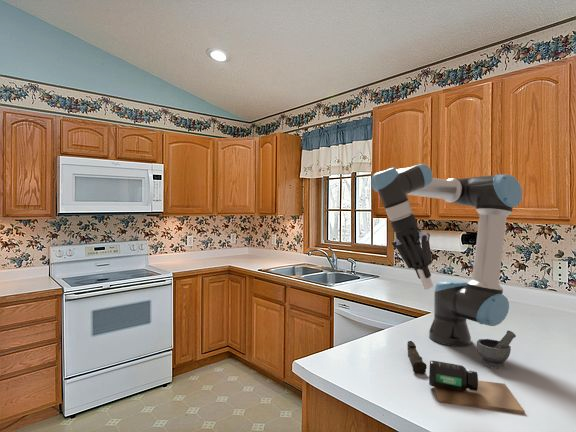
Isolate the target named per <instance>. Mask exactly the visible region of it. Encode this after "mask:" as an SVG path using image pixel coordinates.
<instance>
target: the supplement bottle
mask: <svg viewBox="0 0 576 432" xmlns="http://www.w3.org/2000/svg"><path fill="white" fill-rule="evenodd" d="M428 373H429V376H428V377H429V379H428V385H429V386H430V387H433V388H434V387H438V388H443V389H448V390H453V391H458V392H464V391H465V390H466V389H467V388H468V389H469V390H474V391H477V389H478V380H479V377H478V376H479V375H478V372H477V371H473V370H469V371H468V370H467V368H466V367H465V366H464V365H460V364H455V363H450V362H444V361H436V360H429V372H428Z"/></svg>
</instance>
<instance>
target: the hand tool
mask: <svg viewBox="0 0 576 432" xmlns="http://www.w3.org/2000/svg"><path fill="white" fill-rule="evenodd" d="M406 344H407V345H406V346H407V356H408V358H409V360H410V362H411V365H412V371H413V373H414V374H418V375H424V374H426V371H427V364H426V362H425V361H423V358H422V356H421V355H420V354H419V352H418V349H417V347H416V346H417V345H416V344H415V342H413V341H412V340H408V341H407V343H406Z"/></svg>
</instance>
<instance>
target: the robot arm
mask: <svg viewBox="0 0 576 432" xmlns="http://www.w3.org/2000/svg"><path fill="white" fill-rule="evenodd" d="M370 180H371V182H370V185H371V188H372V189H373V191H374V192H376V193H377V194H378V195H379V197H380V200H381V202H382V204H383V207H384V210H385V212H386V213H385V214H386V215H387V218H388V221H390V225H391V228H392V231H393V232H394V233H395V240H394V241H392V242H391V245H392V246H393V247H394V248H395V249H396V250H397V252H398V254H399V255H400V256H401V258H402V260H403V262H404V263H405V265H406V266H407V268H408V269H413V270H414V271H415V273H416V275H417V278H418V279H420V281H421V284H422V286H423V289H424V290H430V289H431V288H432V287H433V286H434V284H433V282H432V279H431V276H432V274H431V271H430V268H429V266H430V265H432V264H433V259H432V257H433V256H432V253H431V252H432V251H431V250H432V249H431V247H430V237H431V235H430V233H424V232H422V231H421V229H420V228H419V227H418V222H417V221H418V220H417V219H416V216H415V214H413V209H412V206H411V203H410V201H409V198H408V195H409V196H414V197H415V196H416V197H423V198H424V197H425V198H431V199H439V200H443V201H445V202H446V203H451V204H454V205H455V204H456V205H460V206H466V207H472V208H475V212H476V213H478V214H479V218H478V226H477V227H478V228H477V235H476V243H475V251H474V259H473V267H472V268H473V269H472V277H471V279H470V280H468V281H467V282H466V281H464V280H463V281H462V280H461V281H460V280H458V281H457V280H447V281H446V280H445V281H443V280H442V281H438V282H436V283H435V286H434V305H433V306H434V310H433V311H434V313H433V314H434V315H433V317H434V318H433V320H432V323H431V325H430V327H429V330H428V332H429V333H428V338H429V339H430V340H431V341H433V342H436V343H438V344H442V345H445V346H451V347H452V346H454V347H465V346H466V347H467V346H470V345H471V343H472V337H471V336H472V335H471V333H470V332H471V331H470V329H469V327H468V323H467V320H469V321H472V322H475V323H478V324H479V325H485V326H489V327H496V326H498V325H500V324H502V322H503V321H504V320H505V319H506V317H507V316H508V313H509V309H510V302H509V299H508V297H506V296H505V295H504V294H503V293H504V289H503V287H502V286H501V285H500V276H501V275H500V274H501V269H502V268H501V266H502V258H503V249H504V241H505V232H506V224H507V218H508V217H509V216H510V215H512V214H513V209H514V208H515V207H517V206H519V205H520V203H521V202H522V199H523V190H522V185H521V184H520V183H519V181H518V179H517V178H516V177H515V176H513V175H512V174H498V173H497V174H492V175H484V176H470V177H465V178H464V177H462V178H454V177H452V178H448V179H442V178H436V177H433V171H432V169H431V167H429V166H428V165H427V164H425V163H419V164H415V165H413V166H410V167H403V168H398V169H397V168H396V167H391V168H388V169H386V170H381V171H379V172H376V173H374V174H373V175H372V177H371V179H370Z"/></svg>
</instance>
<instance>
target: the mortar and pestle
mask: <svg viewBox="0 0 576 432" xmlns="http://www.w3.org/2000/svg"><path fill="white" fill-rule="evenodd" d="M516 337H517V335H516V334H515V333H514V332H513V331H511V330H507V331H506V333H505V335H504V336H502V338H501V339H500V340H496V339H491V338H489V339H488V338H481V339H479V338H478V340H476V350H477V352H478V354H479V356H480V357H481V358H482V360H481V364H483V366H486V367H488V368H490V369H491V368H492V369H497V370H498V369H503V368H504V367H505V366H504V365H505V364H504V363H505V362H507V360H508V359H509V357H510V356H511V348H512V347H511V343H512V341H513V340H514V339H515V338H516Z"/></svg>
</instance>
